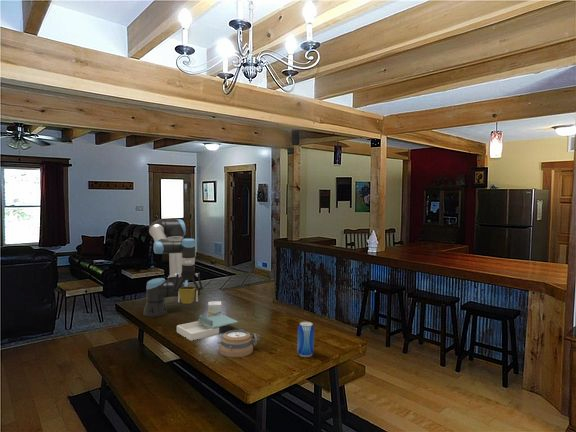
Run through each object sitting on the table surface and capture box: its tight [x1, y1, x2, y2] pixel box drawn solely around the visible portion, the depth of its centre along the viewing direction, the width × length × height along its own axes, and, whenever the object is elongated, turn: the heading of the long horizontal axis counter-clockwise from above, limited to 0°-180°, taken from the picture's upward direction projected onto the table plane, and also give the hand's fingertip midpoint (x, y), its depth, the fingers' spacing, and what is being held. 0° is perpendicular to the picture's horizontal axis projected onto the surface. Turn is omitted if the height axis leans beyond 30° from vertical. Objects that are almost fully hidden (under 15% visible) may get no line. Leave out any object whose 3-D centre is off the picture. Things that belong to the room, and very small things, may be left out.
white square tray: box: [176, 320, 220, 342], centre depth 224 cm, size 18×18×4 cm
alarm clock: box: [217, 329, 261, 358], centre depth 202 cm, size 17×9×23 cm
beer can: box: [296, 321, 315, 358], centre depth 196 cm, size 8×8×16 cm
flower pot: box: [179, 286, 197, 305], centre depth 231 cm, size 9×9×9 cm
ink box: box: [207, 300, 222, 317], centre depth 247 cm, size 9×8×12 cm
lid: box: [197, 313, 239, 328], centre depth 232 cm, size 18×17×4 cm
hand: (187, 301), depth 231 cm, fingers closed on flower pot, 10 cm apart
